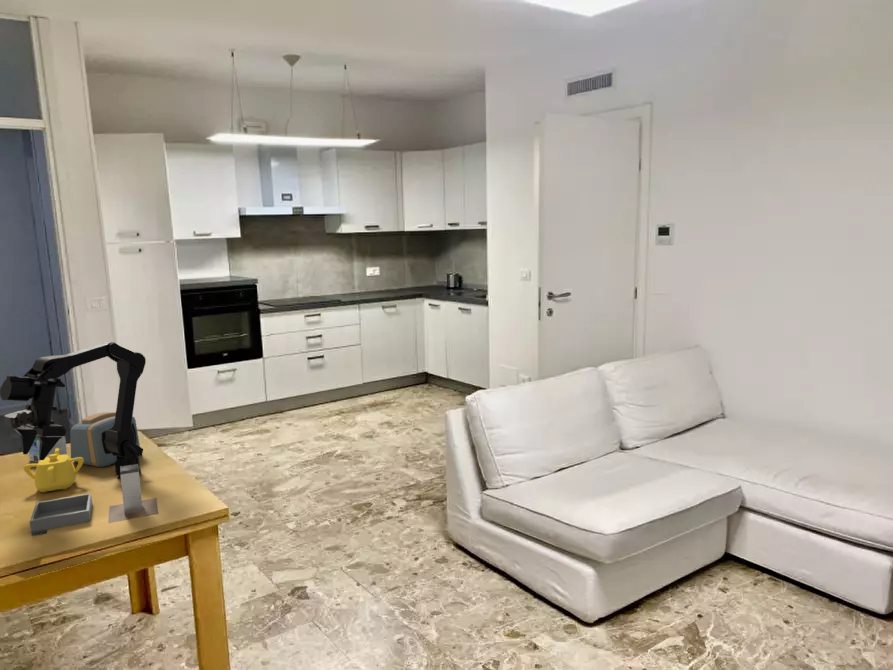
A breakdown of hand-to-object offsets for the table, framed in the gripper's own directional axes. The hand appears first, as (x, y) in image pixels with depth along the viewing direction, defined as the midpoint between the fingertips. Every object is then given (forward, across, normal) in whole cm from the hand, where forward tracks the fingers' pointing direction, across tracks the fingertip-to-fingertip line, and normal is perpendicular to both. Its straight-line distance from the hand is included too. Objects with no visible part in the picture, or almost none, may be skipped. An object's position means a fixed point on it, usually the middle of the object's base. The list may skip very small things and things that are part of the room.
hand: (33, 457), depth 184 cm
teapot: (+11, -10, +14) cm, 21 cm away
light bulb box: (+9, -39, +25) cm, 47 cm away
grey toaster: (+6, -22, +35) cm, 42 cm away
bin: (+14, +17, +2) cm, 22 cm away
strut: (+10, +30, +14) cm, 34 cm away
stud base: (+11, +30, +14) cm, 34 cm away
